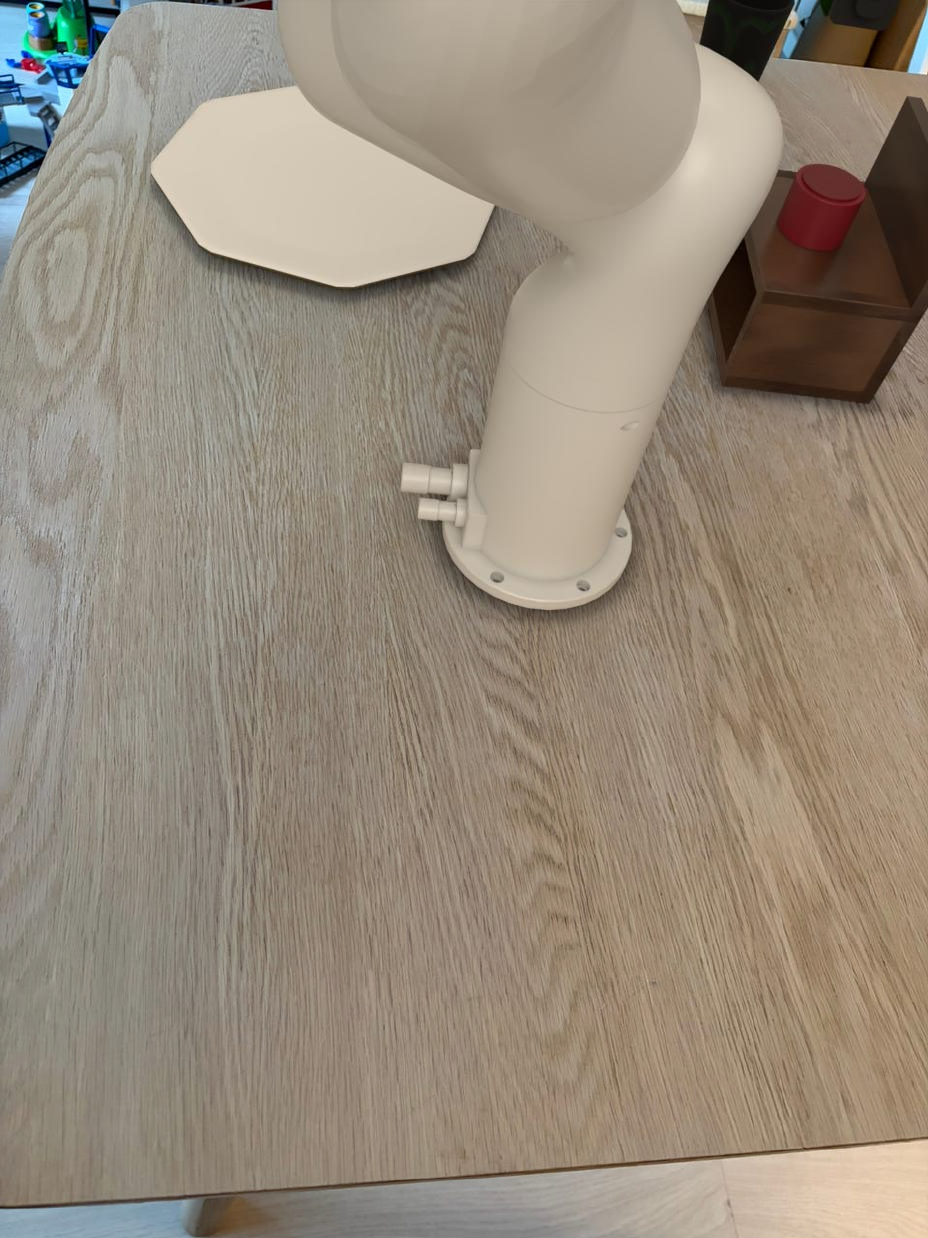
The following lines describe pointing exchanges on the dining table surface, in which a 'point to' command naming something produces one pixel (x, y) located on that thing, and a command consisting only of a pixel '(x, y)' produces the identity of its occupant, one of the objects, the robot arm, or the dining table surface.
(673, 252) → the robot arm
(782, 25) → the cup
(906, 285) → the shelf
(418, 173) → the plate
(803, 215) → the cap
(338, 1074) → the dining table surface
